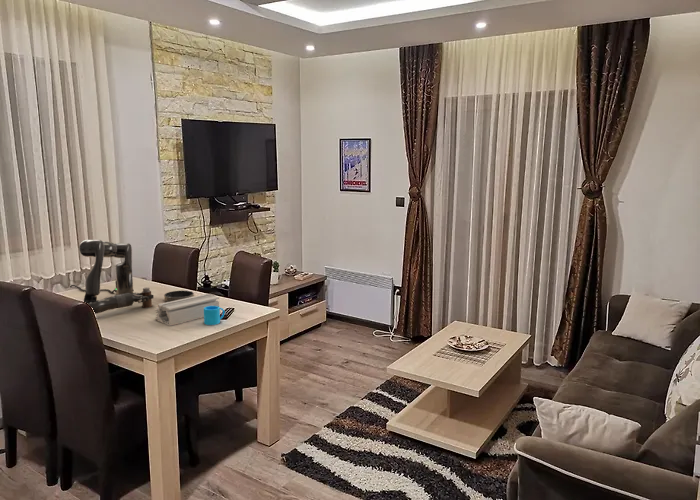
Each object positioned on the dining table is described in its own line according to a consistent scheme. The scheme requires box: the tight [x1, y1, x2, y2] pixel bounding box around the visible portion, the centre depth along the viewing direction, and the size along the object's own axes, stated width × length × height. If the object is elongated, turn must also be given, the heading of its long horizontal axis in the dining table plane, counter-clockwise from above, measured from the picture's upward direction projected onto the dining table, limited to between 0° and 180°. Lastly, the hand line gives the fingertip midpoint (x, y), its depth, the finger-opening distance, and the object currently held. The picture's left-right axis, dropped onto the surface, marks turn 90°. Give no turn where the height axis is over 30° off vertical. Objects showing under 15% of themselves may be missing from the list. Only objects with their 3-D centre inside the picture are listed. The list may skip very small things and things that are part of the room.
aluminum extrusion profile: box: [154, 293, 220, 327], centre depth 276 cm, size 14×31×10 cm, turn 140°
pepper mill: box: [141, 287, 153, 309], centre depth 293 cm, size 5×5×11 cm
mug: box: [203, 305, 226, 326], centre depth 268 cm, size 12×8×8 cm
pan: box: [163, 290, 195, 303], centre depth 309 cm, size 17×17×4 cm
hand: (149, 295), depth 294 cm, fingers open, 8 cm apart
